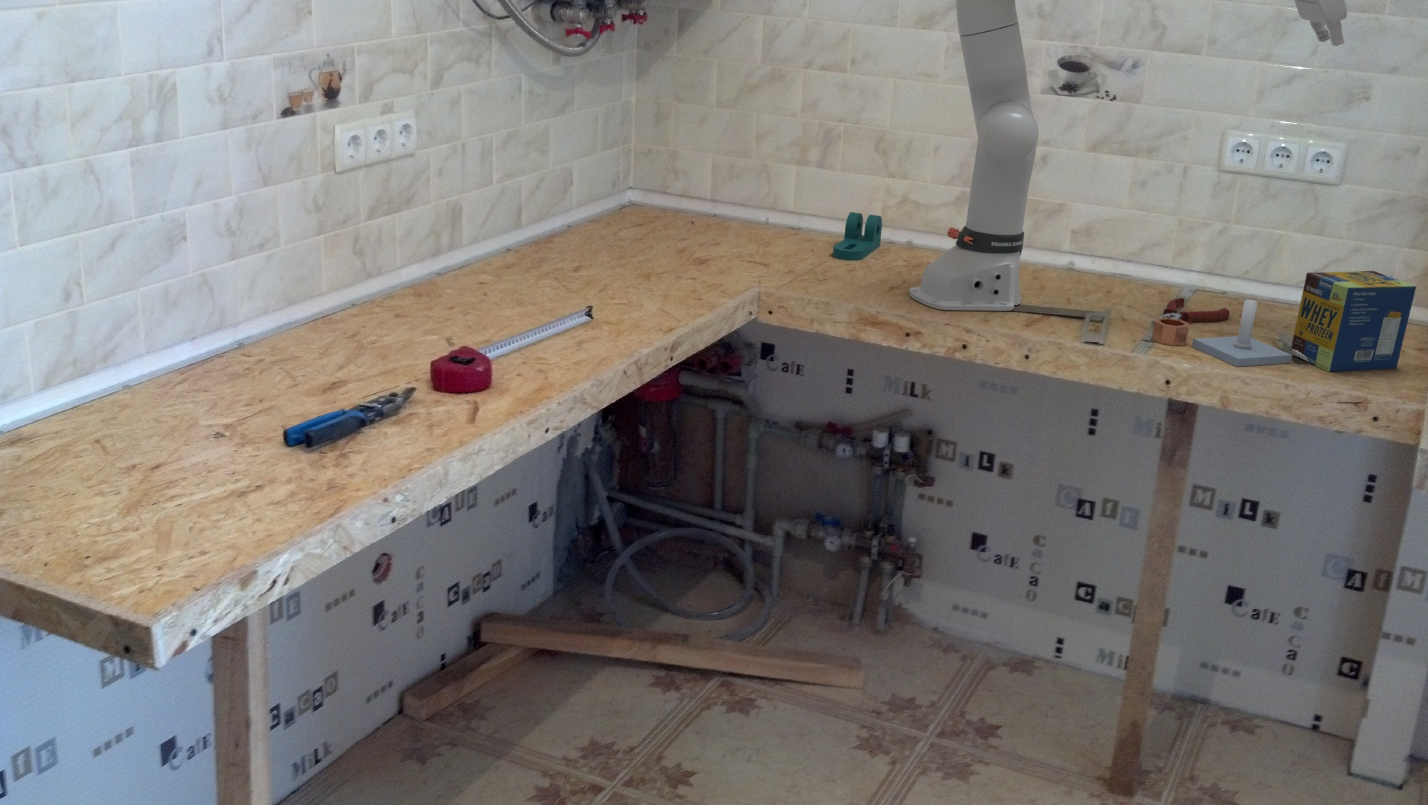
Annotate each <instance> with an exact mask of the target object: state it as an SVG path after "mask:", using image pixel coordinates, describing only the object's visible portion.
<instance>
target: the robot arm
mask: <svg viewBox="0 0 1428 805" xmlns="http://www.w3.org/2000/svg"><path fill="white" fill-rule="evenodd" d="M955 2H956V3H955V5H956V6H955V8H956V19H957V28H958V32H959V33H958V34H959V40H960V45H961V50H962V57H963V62H964V68H965V72H966V79H967V84H968V88H969V90H968V91H969V93H970V94H969V95H970V96H969V97H970V100H971V106H972V112H973V118H974V123H975V128H976V135H977V142H976V144H977V145H976V153H975V158H974V165H973V171H972V178H971V182H970V183H971V184H970V189H969V197H968V198H969V199H968V207H967V215H966V222H965V225H964V226H963V227H962V229H961V231H960V230H959V229H958V228H954V227H949V228H948V229H947V231H946V235H947V237H948V238H951V239H953V240H956V241H955V245H954V246H951V248H949V249H948V250H946V251H945V252H944V253H942V255H939V257H937V258H935V259H933V261H931V262H929V263H928V264H927V266H926V267H925V269H924V272H923V274H922V279H921V281H920V286H912V287H909V291H908V295H909V296H910V298H912V299H914V300H915V301H917V302H918V303H920V304H922V305H925V306H927V307H930V308H934V309H937V310H941V311H943V310H944V311H987V312H988V311H995V312H997V311H998V312H1001V311H1002V312H1011V310H1012V309H1013V308H1014V309H1015V307H1014V305H1017V306H1018V304H1019V305H1021V303H1022V296H1021V289H1020V288H1021V287H1020V257H1021V255H1022V251H1023V250H1024V249H1023V247H1024V241H1025V240H1024V239H1025V232H1024V231H1023V230H1024V229H1023V228H1024V223H1025V222H1024V221H1025V215H1026V208H1027V200H1028V194H1029V188H1030V184H1031V180H1032V178H1031V177H1032V175H1033V174H1032V173H1033V169H1034V164H1035V158H1036V153H1037V146H1038V141H1039V140H1038V139H1039V126H1038V123H1037V121H1036V119H1035V117H1034V114H1033V108H1032V102H1031V96H1030V91H1029V83H1028V75H1027V65H1026V60H1025V54H1024V48H1023V41H1022V38H1021V36H1022V35H1021V31H1020V24H1019V20H1018V13H1017V6H1016V0H956V1H955ZM1294 3H1295V6H1296V10H1297V13H1298V15H1299V17H1300V18H1301V19H1302V20H1304V21H1305V20H1306V21H1309V23H1310V26H1311V28H1312V30H1313V31H1314V33H1315V35H1316V37H1317V38H1316V39H1317V40H1318V42H1320V43H1324V42H1326V41H1329V40H1330V42H1331V45H1332V46H1334V47H1338V46H1341V45H1343V44H1344V43H1345V39H1344V37H1343V29H1342V28H1343V27H1342V22H1341V21H1343V20H1345V19H1347V16H1348V9H1347V7H1348V6H1347V4H1346V0H1294ZM1012 311H1013V310H1012Z"/></svg>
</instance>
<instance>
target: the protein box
mask: <svg viewBox="0 0 1428 805" xmlns="http://www.w3.org/2000/svg"><path fill="white" fill-rule="evenodd" d="M1416 290H1417V286H1416V285H1414V284H1411V283H1409V282H1405V281H1403V280H1399V279H1397V278H1394V277H1393V276H1389V275H1386V274H1383V273H1380V272H1378V271H1375V270H1362V271H1359V270H1357V271H1356V270H1355V271H1328V272H1327V271H1326V272H1325V271H1324V272H1323V271H1322V272H1306V276H1305V280H1304V285H1303V290H1302V294H1301V300H1300V304H1299V308H1298V314H1297V317H1296V318H1297V319H1296V323H1295V327H1294V332H1293V337H1292V341H1291V347H1290V349H1291V348H1292V349H1295V350H1298V351H1299V352H1301V353H1302V354H1304V355H1305V356H1306V357H1307V360H1308V361H1309V363H1308V364H1310V365H1313V366H1315V367H1318V368H1319V369H1322V370H1324V371H1325V372H1329V373H1331V372H1332V373H1337V372H1355V371H1356V372H1357V371H1373V370H1375V371H1376V370H1395V369H1397V368H1398V363H1399V360H1400V356H1401V355H1400V354H1401V350H1402V347H1403V342H1404V339H1405V334H1406V331H1407V327H1408V323H1409V319H1410V314H1411V310H1412V306H1413V302H1414V301H1413V300H1414V299H1415V298H1414V297H1415V294H1416Z"/></svg>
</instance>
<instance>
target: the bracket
mask: <svg viewBox="0 0 1428 805" xmlns="http://www.w3.org/2000/svg"><path fill="white" fill-rule="evenodd" d="M863 226H864V227H863ZM863 228H864V230H863ZM882 230H883V220H882V216H881V215H876V214H868V216H867V219H866V221H865V225H864V217H863V214H862V213H861V212H854V211H851V212H849V214H848V216H847V218H846V222H845V227H844V236H843V239H842V240H841V241H840V242H838V243H836V244H835V245H833V249H832V257H833V258H834V259H836V260H837V259H838V260H842V261H849V262H850V261H853V262H854V261H855V262H856V261H857V262H858V261H863V259H865V258H866V257H868V256H870V254H872V253H873V252H875V251H876V250H877V249H879V248H880V247H881V239H882Z"/></svg>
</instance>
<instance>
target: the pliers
mask: <svg viewBox="0 0 1428 805" xmlns="http://www.w3.org/2000/svg"><path fill="white" fill-rule="evenodd" d="M1184 306H1185V298H1184V297H1178V298H1174V299H1171V300H1170V301H1168V303H1167V306H1166V308H1165V309H1164V310H1163V313H1162V315H1161V316H1159V317H1158V318H1172V319H1178V320H1182V321H1185V322H1187V323H1189V324H1190V326H1191V324H1198V323H1199V324H1202V323H1220V322H1223V321H1225V320H1228V319H1229V317H1230V310H1229V309H1228V308H1226V307H1224V308H1220V309H1219V310H1205V311H1204V310H1199V311H1193V310H1192V311H1186V310H1182V311H1179V313H1178V309H1180V307H1181V308H1183V307H1184ZM1177 308H1178V309H1177ZM1155 320H1156V319H1155ZM1155 320H1152V321H1151V322H1150V324H1151V325H1154V322H1155Z"/></svg>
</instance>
